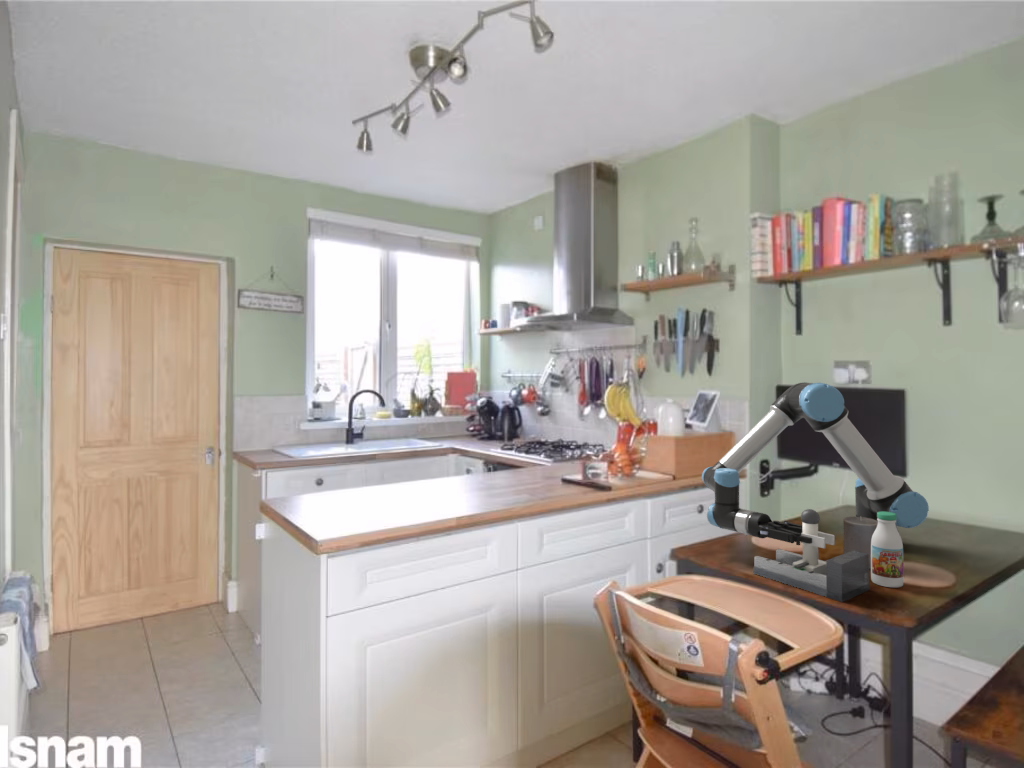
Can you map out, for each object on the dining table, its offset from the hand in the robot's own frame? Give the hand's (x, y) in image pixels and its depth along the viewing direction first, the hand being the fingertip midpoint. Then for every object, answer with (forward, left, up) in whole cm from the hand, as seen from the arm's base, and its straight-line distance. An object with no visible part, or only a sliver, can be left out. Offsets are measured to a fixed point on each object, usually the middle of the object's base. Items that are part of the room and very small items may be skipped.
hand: (829, 541), depth 160 cm
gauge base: (+4, -4, -13) cm, 14 cm away
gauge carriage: (+5, -3, -11) cm, 12 cm away
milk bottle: (-17, -6, -13) cm, 22 cm away
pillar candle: (-16, -22, -13) cm, 30 cm away
